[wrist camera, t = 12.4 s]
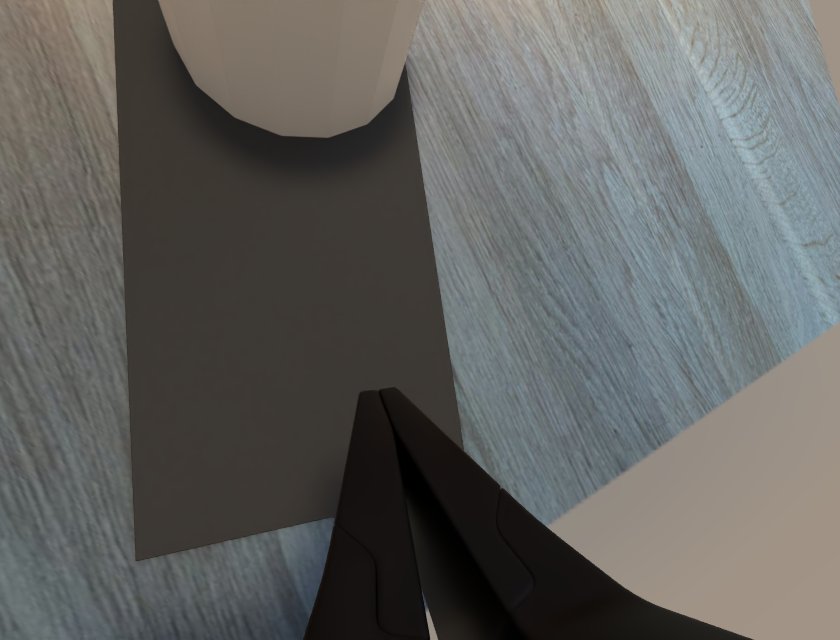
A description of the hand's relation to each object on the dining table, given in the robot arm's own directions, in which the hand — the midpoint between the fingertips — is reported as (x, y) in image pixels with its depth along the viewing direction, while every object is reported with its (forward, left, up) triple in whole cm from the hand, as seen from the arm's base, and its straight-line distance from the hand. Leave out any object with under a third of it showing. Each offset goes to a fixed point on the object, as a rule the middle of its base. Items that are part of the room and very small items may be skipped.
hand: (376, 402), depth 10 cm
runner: (+10, +1, -13) cm, 17 cm away
